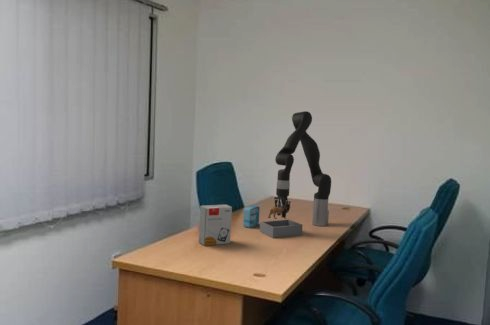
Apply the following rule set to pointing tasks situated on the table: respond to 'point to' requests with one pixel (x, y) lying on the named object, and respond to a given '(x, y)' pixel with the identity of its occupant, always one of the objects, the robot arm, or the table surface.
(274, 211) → the lion figurine
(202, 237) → the hard drive box
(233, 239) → the table surface
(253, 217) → the data package
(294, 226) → the bin
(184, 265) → the table surface
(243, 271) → the table surface
